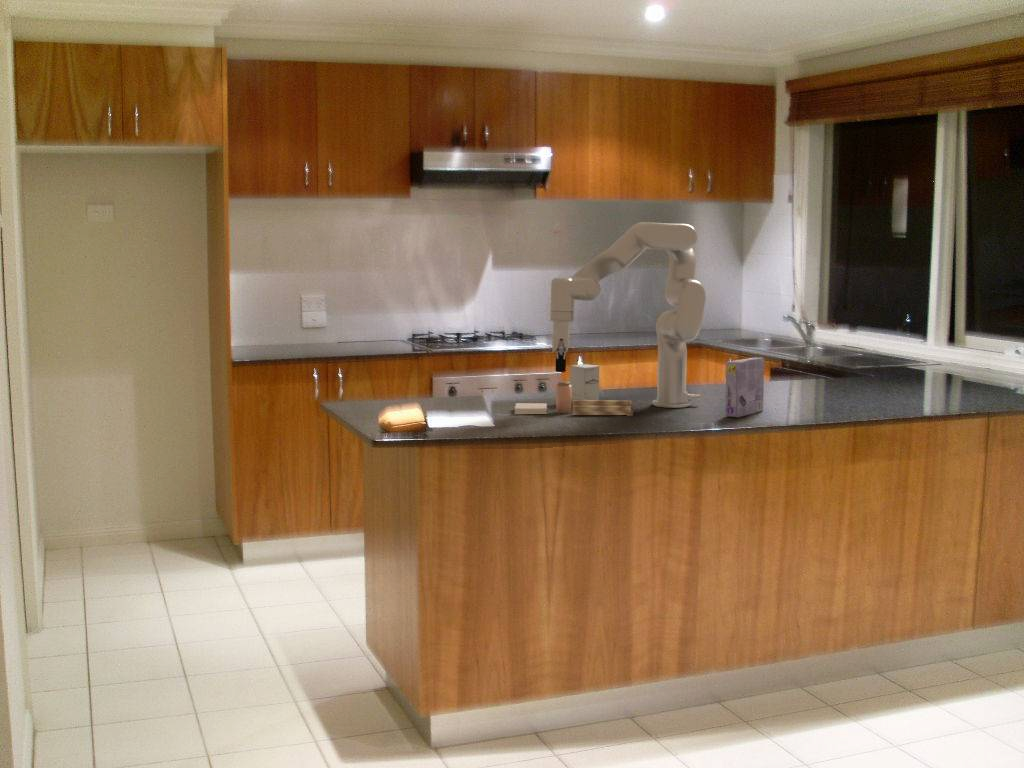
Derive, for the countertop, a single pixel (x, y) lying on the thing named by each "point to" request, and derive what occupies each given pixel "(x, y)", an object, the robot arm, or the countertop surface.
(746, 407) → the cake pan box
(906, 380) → the countertop surface
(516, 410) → the block
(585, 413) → the wooden tray
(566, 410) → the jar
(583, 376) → the supplement box
